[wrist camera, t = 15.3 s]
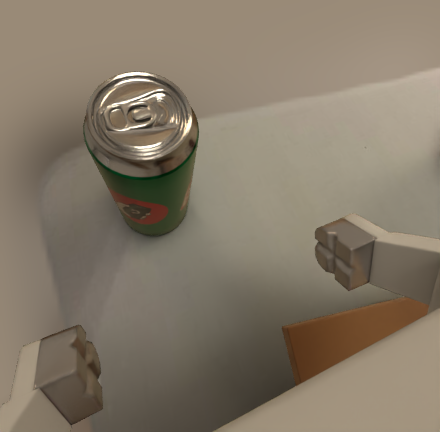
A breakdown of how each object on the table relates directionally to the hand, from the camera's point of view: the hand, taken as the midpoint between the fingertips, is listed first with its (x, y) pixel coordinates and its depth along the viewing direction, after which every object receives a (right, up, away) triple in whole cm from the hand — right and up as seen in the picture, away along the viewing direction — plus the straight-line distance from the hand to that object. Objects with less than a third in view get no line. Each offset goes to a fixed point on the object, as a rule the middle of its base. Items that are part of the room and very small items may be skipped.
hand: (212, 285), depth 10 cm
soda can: (-5, +3, +14) cm, 15 cm away
